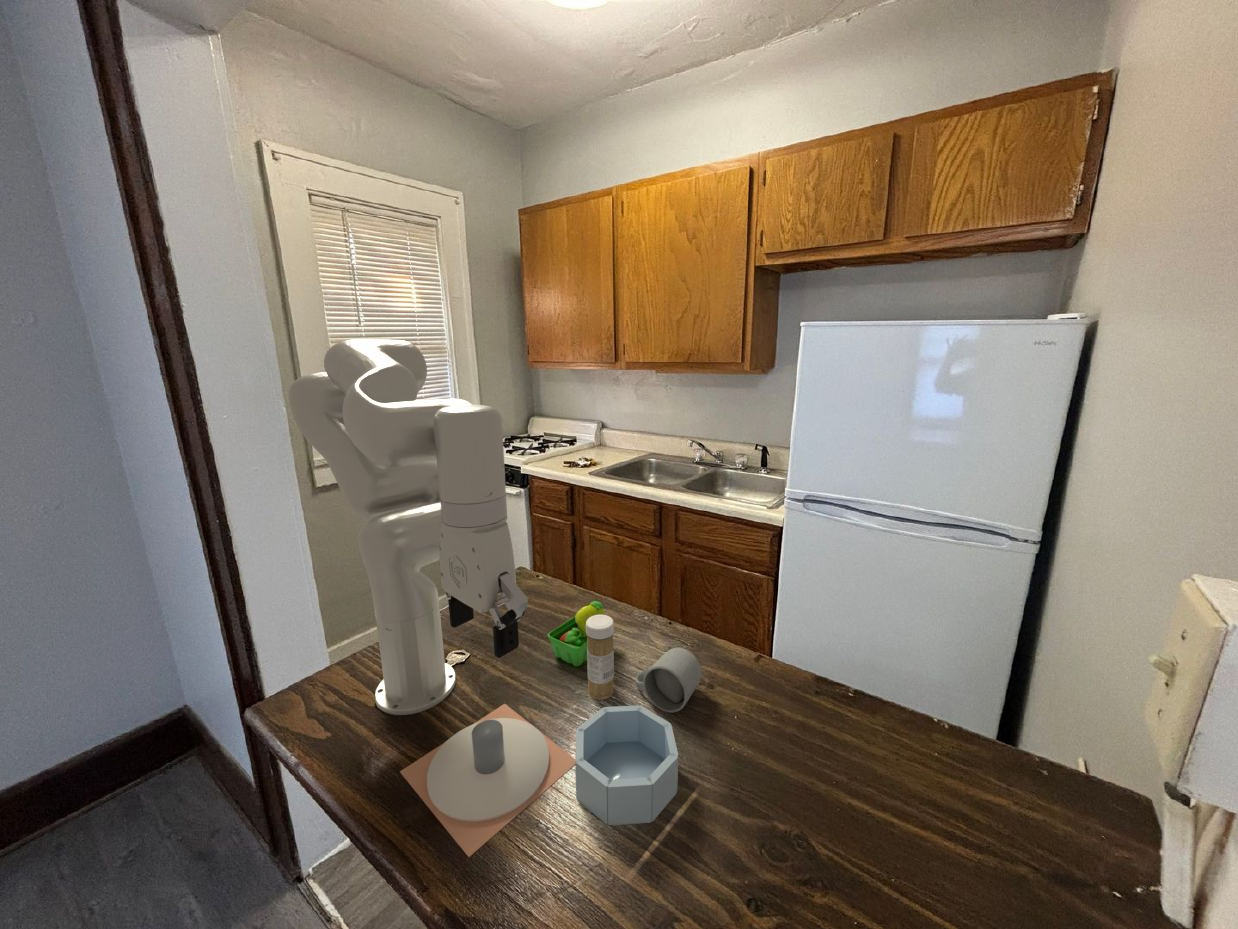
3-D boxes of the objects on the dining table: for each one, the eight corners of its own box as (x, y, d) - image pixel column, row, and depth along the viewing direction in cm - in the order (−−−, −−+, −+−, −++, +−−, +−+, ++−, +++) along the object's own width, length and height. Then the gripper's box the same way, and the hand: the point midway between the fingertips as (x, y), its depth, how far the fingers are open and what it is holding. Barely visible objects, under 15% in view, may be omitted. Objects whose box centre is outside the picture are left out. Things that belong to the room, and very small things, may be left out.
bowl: (556, 783, 63) (554, 745, 62) (620, 727, 72) (620, 693, 71) (631, 849, 55) (632, 807, 53) (693, 775, 64) (694, 738, 63)
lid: (405, 771, 64) (400, 735, 63) (504, 706, 76) (501, 675, 75) (470, 850, 54) (466, 809, 53) (572, 762, 66) (571, 726, 64)
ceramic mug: (704, 689, 81) (705, 648, 79) (685, 720, 74) (686, 677, 72) (648, 670, 86) (648, 631, 84) (626, 697, 79) (625, 656, 77)
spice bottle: (607, 680, 83) (606, 610, 80) (618, 697, 79) (618, 624, 76) (583, 688, 81) (581, 617, 78) (593, 706, 77) (592, 631, 74)
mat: (400, 774, 64) (399, 771, 64) (504, 706, 77) (504, 703, 77) (469, 860, 53) (468, 857, 53) (578, 764, 66) (578, 761, 66)
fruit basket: (585, 631, 98) (584, 580, 95) (620, 646, 93) (620, 593, 90) (546, 659, 89) (544, 604, 86) (582, 677, 84) (581, 620, 81)
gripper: (409, 502, 59) (421, 624, 63) (490, 536, 49) (500, 681, 53) (462, 489, 65) (471, 602, 69) (546, 517, 54) (551, 650, 58)
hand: (483, 636), depth 61 cm, fingers open, 9 cm apart
